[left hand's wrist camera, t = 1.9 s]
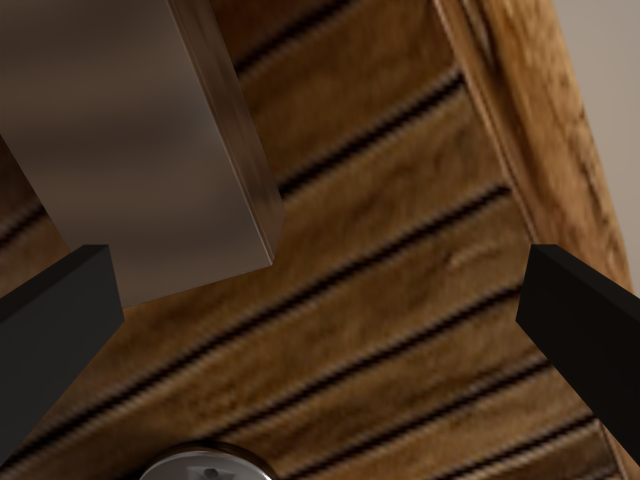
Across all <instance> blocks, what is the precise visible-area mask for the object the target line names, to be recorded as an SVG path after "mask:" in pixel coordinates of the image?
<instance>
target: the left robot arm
mask: <svg viewBox="0 0 640 480" xmlns="http://www.w3.org/2000/svg"><path fill="white" fill-rule="evenodd" d="M124 321H125V320H124V316H123V311H122V306H121V301H120V296H119V292H118V287H117V282H116V277H115V273H114V268H113V263H112V258H111V254H110V249H109V244H84V245H82V246H81V247H79V248H78V249H76V250H75V251H73V252H72V253H70V254H69V255H67V256H65V257H64V258H62V259H61V260H59V261H58V262H56V263H55V264H53V265H52V266H50V267H48V268H47V269H45V270H44V271H42V272H41V273H39V274H38V275H36V276H35V277H33V278H32V279H30V280H28V281H27V282H25V283H24V284H22V285H21V286H19V287H18V288H16V289H15V290H13V291H12V292H10V293H8V294H7V295H5V296H4V297H2V298H1V299H0V467H1V465H2V464H3V463H4V462H5V461H6V460H7V458H8V457H9V456H10V455H11V454H12V453H13V451H14V450H15V449H16V448H17V447H18V445H19V444H20V443H21V442H22V441H23V440H24V438H25V437H26V436H27V435H28V434H29V433H30V431H31V430H32V429H33V428H34V427H35V425H36V424H37V423H38V422H39V421H40V420H41V418H42V417H43V416H44V415H45V414H46V413H47V411H48V410H49V409H50V408H51V407H52V406H53V404H54V403H55V402H56V401H57V400H58V398H59V397H60V396H61V395H62V394H63V393H64V391H65V390H66V389H67V388H68V387H69V386H70V384H71V383H72V382H73V381H74V380H75V378H76V377H77V376H78V375H79V374H80V373H81V371H82V370H83V369H84V368H85V367H86V366H87V364H88V363H89V362H90V361H91V360H92V359H93V357H94V356H95V355H96V354H97V353H98V351H99V350H100V349H101V348H102V347H103V346H104V344H105V343H106V342H107V341H108V340H109V339H110V337H111V336H112V335H113V334H114V333H115V331H116V330H117V329H118V328H119V327H120V326H121V324H122V323H123V322H124ZM515 321H516V322H517V323H518V324H519V326H520V327H521V328H522V329H523V330H524V332H525V333H526V334H527V335H528V336H529V337H530V339H531V340H532V341H533V342H534V343H535V344H536V346H537V347H538V348H539V349H540V350H541V351H542V353H543V354H544V355H545V356H546V357H547V359H548V360H549V361H550V362H551V363H552V364H553V366H554V367H555V368H556V369H557V370H558V371H559V373H560V374H561V375H562V376H563V377H564V378H565V380H566V381H567V382H568V383H569V384H570V386H571V387H572V388H573V389H574V390H575V391H576V393H577V394H578V395H579V396H580V397H581V398H582V400H583V401H584V402H585V403H586V404H587V406H588V407H589V408H590V409H591V410H592V411H593V413H594V414H595V415H596V416H597V417H598V418H599V420H600V421H601V422H602V423H603V424H604V425H605V427H606V428H607V429H608V430H609V431H610V433H611V434H612V435H613V436H614V437H615V438H616V440H617V441H618V442H619V443H620V444H621V445H622V447H623V448H624V449H625V450H626V451H627V453H628V454H629V455H630V456H631V457H632V458H633V460H634V461H635V462H636V463H637V464H638V465H639V467H640V299H639V298H638V297H636V296H635V295H633V294H632V293H630V292H628V291H627V290H625V289H624V288H622V287H621V286H619V285H618V284H616V283H615V282H613V281H612V280H610V279H608V278H607V277H605V276H604V275H602V274H601V273H599V272H598V271H596V270H595V269H593V268H592V267H590V266H588V265H587V264H585V263H584V262H582V261H581V260H579V259H578V258H576V257H575V256H573V255H571V254H570V253H568V252H567V251H565V250H564V249H562V248H561V247H559V246H558V245H556V244H531V249H530V254H529V258H528V263H527V268H526V273H525V277H524V282H523V287H522V292H521V296H520V301H519V306H518V311H517V316H516V320H515ZM139 480H279V478H278V477H277V475H276V474H275V472H274V471H273V470H272V469H271V468H270V467H269V466H268V465H267V464H266V463H265V462H264V461H262V460H261V459H259V458H258V457H256V456H255V455H253V454H251V453H249V452H247V451H245V450H242V449H240V448H237V447H234V446H230V445H226V444H220V443H211V442H198V443H188V444H183V445H179V446H176V447H173V448H170V449H168V450H166V451H164V452H162V453H160V454H159V455H157V456H156V457H155V458H153V459H152V460H151V461H150V462H149V463H148V465H147V466H146V467H145V469H144V471H143V473H142V475H141V477H140V479H139Z"/></svg>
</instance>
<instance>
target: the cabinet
mask: <svg viewBox="0 0 640 480" xmlns="http://www.w3.org/2000/svg"><path fill="white" fill-rule="evenodd" d="M0 134H1V136H2V137H3V139H4V141H5V142H6V144H7V146H8V147H9V149H10V151H11V152H12V154H13V156H14V157H15V159H16V161H17V163H18V164H19V166H20V168H21V169H22V171H23V173H24V174H25V176H26V178H27V179H28V181H29V183H30V184H31V186H32V188H33V189H34V191H35V193H36V194H37V196H38V198H39V199H40V201H41V203H42V205H43V206H44V208H45V210H46V211H47V213H48V215H49V216H50V218H51V220H52V221H53V223H54V225H55V226H56V228H57V230H58V231H59V233H60V235H61V236H62V238H63V240H64V241H65V243H66V245H67V247H68V248H69V250H70V252H71V253H72V252H73V251H75V250H76V249H78V248H79V247H81V246H82V245H84V244H109V249H110V254H111V258H112V263H113V268H114V273H115V277H116V282H117V287H118V292H119V296H120V301H121V306H122V309H124V308H127V307H131V306H134V305H138V304H141V303H145V302H148V301H151V300H155V299H158V298H162V297H165V296H169V295H172V294H175V293H179V292H182V291H186V290H189V289H193V288H196V287H199V286H203V285H206V284H210V283H213V282H217V281H220V280H223V279H227V278H230V277H234V276H237V275H241V274H244V273H247V272H251V271H254V270H258V269H261V268H265V267H268V266H271V265H272V264H273V261H274V257H275V254H276V250H277V247H278V243H279V240H280V236H281V232H282V229H283V225H284V222H285V218H286V215H287V213H286V210H285V207H284V205H283V202H282V199H281V196H280V194H279V191H278V188H277V185H276V183H275V180H274V177H273V174H272V172H271V169H270V166H269V163H268V161H267V158H266V155H265V152H264V150H263V147H262V144H261V141H260V139H259V136H258V133H257V130H256V128H255V125H254V122H253V119H252V117H251V114H250V111H249V108H248V106H247V103H246V100H245V97H244V95H243V92H242V89H241V86H240V84H239V81H238V78H237V75H236V73H235V70H234V67H233V64H232V62H231V59H230V56H229V53H228V51H227V48H226V45H225V43H224V40H223V37H222V34H221V32H220V29H219V26H218V23H217V21H216V18H215V15H214V12H213V10H212V7H211V4H210V1H209V0H0Z"/></svg>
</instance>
